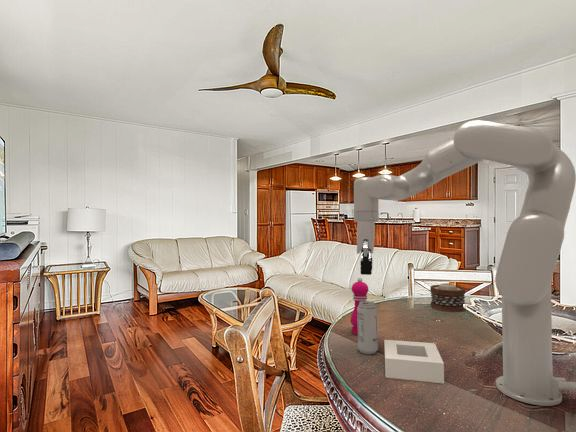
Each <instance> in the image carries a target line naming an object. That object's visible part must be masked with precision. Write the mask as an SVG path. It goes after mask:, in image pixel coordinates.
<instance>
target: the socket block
mask: <svg viewBox="0 0 576 432" xmlns="http://www.w3.org/2000/svg"><path fill="white" fill-rule="evenodd" d="M383 342H384V343H383V344H384V347H383V348H384V368H385V369H384V372H385V373H384V374H385V378H387V379H393V380H394V379H396V380H403V381H404V380H406V381H413V382H414V381H416V382H424V383H436V384H443V385H444V384H445V363H444V361H443V358H442V356H441V355H440V352H439V350H438V347H437V345H436V343H434V342H420V341H408V340H393V339H383Z"/></svg>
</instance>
